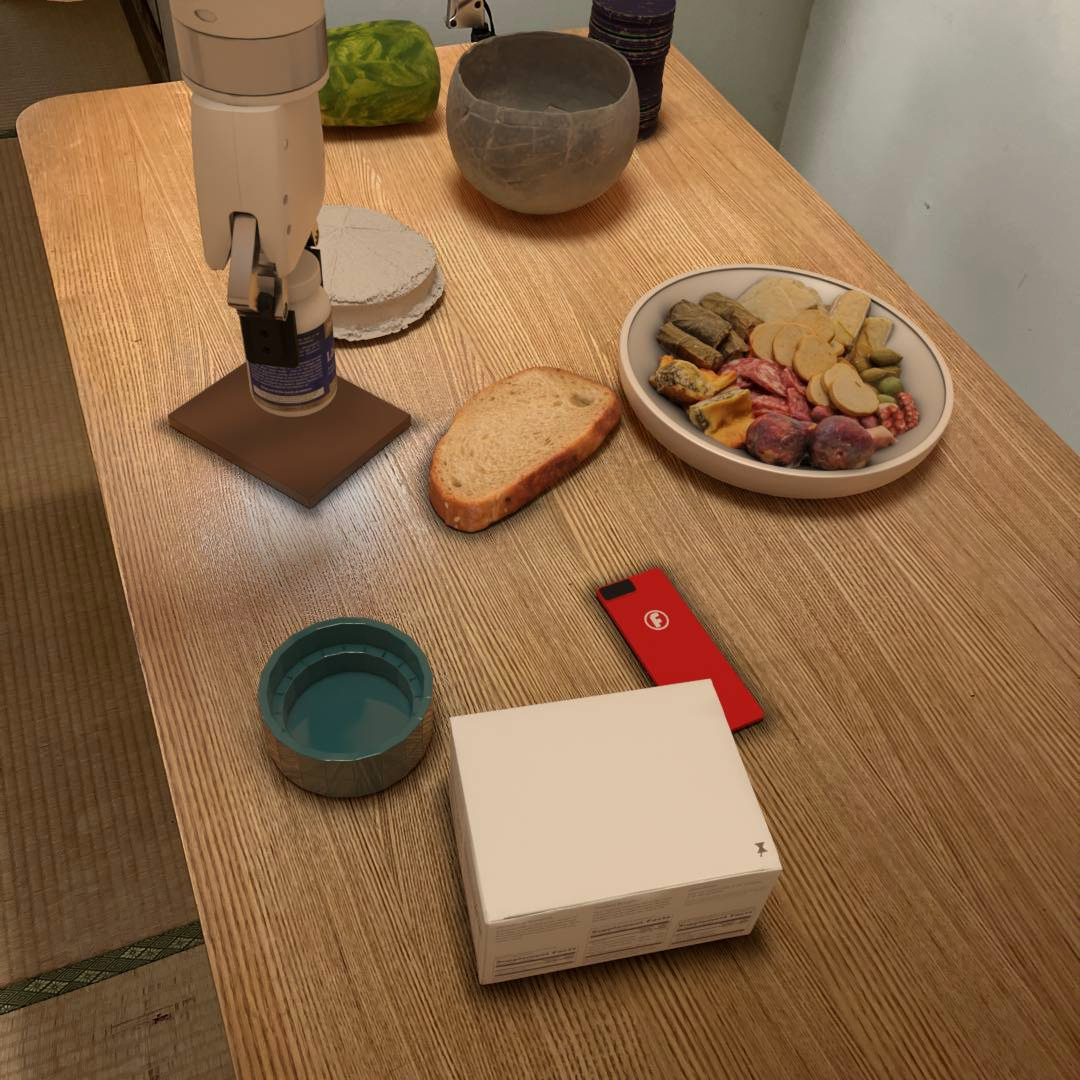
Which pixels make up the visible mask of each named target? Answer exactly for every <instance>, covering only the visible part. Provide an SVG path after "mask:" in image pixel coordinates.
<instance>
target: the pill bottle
mask: <svg viewBox="0 0 1080 1080" xmlns="http://www.w3.org/2000/svg"><path fill="white" fill-rule="evenodd" d="M259 261H268V262H270V261H269V260H268V258H267V256H266V255H265V253H260V257H259ZM320 284H321V273H320V265H319V261H318V260H317V258H316V257H315V256H314V255H313V254H312V253H311V252H309V251H307V250H305V249H303V252H302V254H301V256H300V258H299V260H298V262H297V264H296V266H295V268H294V269H293V271H291V272H290V273H289V274H288V310H293V311H295V318H296V327H297V336H298V345H299V354H300V362H299V364H298V366H297V368H294V369H292V368H284V367H275V366H267V365H259V364H252V363H250V362H248V361H247V359H246V354H245V347H244V341H243V334H242V328H241V322H240V316H239V315H238V320H239V326H240V330H241V332H240V333H241V338H242V344H243V351H244V357H245V362H246V366H247V373H248V379H249V386H250V391H251V395H252V397H253V399H254V401H255V402H256V403H257V404H258V405H259V406H260V407H261V408H262V409H264V410H266V411H267V412H270V413H272V414H275V415H279V416H285V417H298V416H305V415H309V414H312V413H315V412H317V411H319V410H321V409H323V408H324V407H325V406H327V405H328V404H329V403H330V402H331V401H332V399H333V398H334V396H335V394H336V390H337V375H338V373H337V361H336V349H335V337H334V335H333V321H332V309H331V302H330V299H329V296H328V294H327V293H326V291H325V290H324V289H323V287H322V286H320ZM257 286H258V289H259V290H260V291H261V292H267V293H269V294H270V295H272V296H273V297H274V277H265V276H258V277H257Z"/></svg>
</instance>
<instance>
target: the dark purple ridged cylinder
mask: <svg viewBox="0 0 1080 1080" xmlns="http://www.w3.org/2000/svg"><path fill="white" fill-rule="evenodd" d="M591 2H592V5H591V8H590V15H589V20H588V33H587V37H588V38H592V39H595V40H598V41H600V42H603V43H605V44H607V45H609V46H610V47H612V48H613V49H615V50H616V51H618V52H619V53H620V54H622V55H623V56H624V57H625V58H626V60H627V61H628V63H629V65H630V67H631V69H632V72H633V74H634V78H635V81H636V85H637V90H638V97H639V108H640V119H639V130H638V135H637V141H636V143H638V142H641V141H644V140H647V139H649V138H651V137H652V136H653V135H654V134H656V131H657V128H658V126H657V125H658V119H659V114H660V112H661V108H662V103H663V101H662V100H663V90H664V82H663V78H664V72H665V65H666V59H667V56H668V54H669V52H670V49H671V40H672V38H673V34H674V33H673V32H674V27H675V26H674V22H675V13H676V9H677V0H591Z"/></svg>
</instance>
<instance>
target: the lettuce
mask: <svg viewBox="0 0 1080 1080" xmlns="http://www.w3.org/2000/svg"><path fill="white" fill-rule="evenodd" d="M326 29H327V43H328V58H329V79H328V80H327V83H326V84H325V85H324V86H323V88H321V89H320V90H319V91H318V97H319V105H320V113H321V122H322V127H335V128H336V127H337V128H338V127H339V128H341V127H343V128H344V127H354V128H355V127H357V128H358V127H359V128H360V127H361V128H372V127H381V126H391V125H397V124H412V123H413V124H417V123H418V124H419V123H420V124H421V123H423V122H424V121H426V120H427V119H428V118H429V117H430V116H432V115H433V114H434V113H435V111H436V110H437V109H438V105H439V99H440V94H441V87H442V75H441V66H440V61H439V56H438V53H437V50H436V48H435V45H434V42H433V40H432V38H431V36H430V34H429V32H428V30H427V29H426V28H425V27H424V26H421V25H419V24H418V23H415V22H413V21H411V20H404V19H380V20H372V21H366V22H361V23H357V24H351V25H343V26H338V27H337V26H336V27H332V28H326Z"/></svg>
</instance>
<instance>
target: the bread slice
mask: <svg viewBox="0 0 1080 1080" xmlns="http://www.w3.org/2000/svg"><path fill="white" fill-rule="evenodd" d="M622 415H623V407H622V404H621V401H620V398H619V396H618V394H617V393H616V392H615V391H614V390H613V389H612V388H611V387H609V386H606V385H604V384H602V383H598V382H596V381H593V380H591V379H588V378H586V377H584V376H581V375H579V374H577V373H574V372H572V371H569V370H566V369H564V368H560V367H554V366H553V367H552V366H546V365H545V366H542V365H540V366H539V365H538V366H537V365H536V366H531V367H528V368H525V369H522V370H520V371H518V372H515V373H513V374H510V375H509V376H506V377H504V378H501V379H499V380H497V381H494V382H492V383H491V384H490V385H489V386H487V387H486V388H483V389H481V390H479V391H478V392H477V393H476V394H475V395H474V396H473V397H471V398H470V399H468V400H467V401H466V402H465V403H463V405H462V406H461V407H460V408H459V409H457V411H456V412H455V414H454V416H453V420H452V423H451V426H450V427H449V429H448V431H447V432H446V433H445V434H444V435H443V436H442V437H441V438H440V439H439V441H438V442H437V444H436V445H435V448H434V450H433V454H432V457H431V459H430V463H429V469H428V477H427V491H428V496H429V498H430V502H431V505H432V507H433V508H434V510H435V512H436V514H438V516H439V518H441V520H443V521H444V524H445V525H446V526H450V527H452V528H453V529H456V530H459V531H463V532H468V533H473V532H477V531H481V530H484V529H486V528H487V527H489V526H490V525H491V524H493V523H495V522H498V521H499V520H501V519H504V517H507V516H509V515H511V514H514V513H516V512H517V511H518V510H519V508H521V507H522V506H524V505H526V504H528V503H530V502H532V500H533V499H534V498H535V497H536V496H537V495H539V494H541V493H542V492H544V491H545V490H547V488H548V487H550V486H551V485H553V484H555V483H556V482H557V481H559V480H561V479H562V478H563V477H564V476H566V475H568V473H570V472H571V471H572V470H574V469H575V468H576V467H578V466H579V465H580V464H581V463H582V462H583V461H585V460H586V459H587V458H588V457H589V456H591V455H592V454H593V453H594V452H595V451H596V450H598V448H599V447H600V446H601V445H602V444H603V443H604V441H605V438H606V437H607V436H608V435H609V433H610V432H611V431H612V430H613V429H614V428H615V427H616V425H617V424H618V422H620V419H621V417H622Z"/></svg>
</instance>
